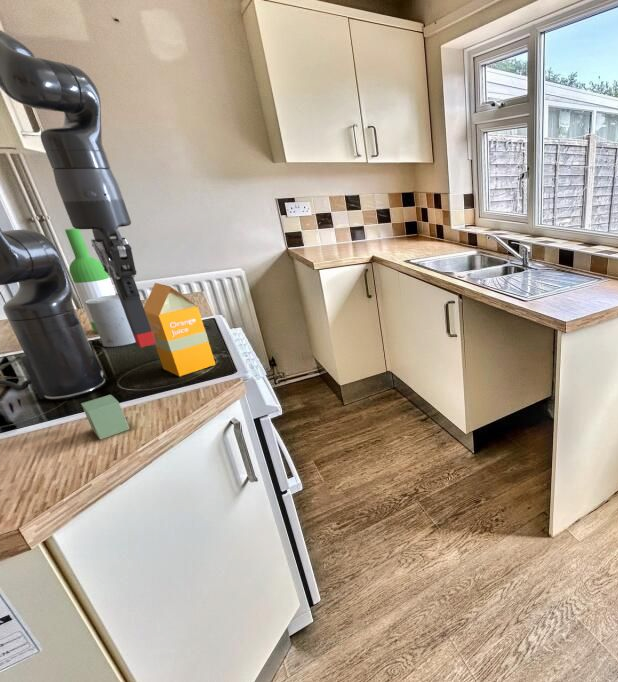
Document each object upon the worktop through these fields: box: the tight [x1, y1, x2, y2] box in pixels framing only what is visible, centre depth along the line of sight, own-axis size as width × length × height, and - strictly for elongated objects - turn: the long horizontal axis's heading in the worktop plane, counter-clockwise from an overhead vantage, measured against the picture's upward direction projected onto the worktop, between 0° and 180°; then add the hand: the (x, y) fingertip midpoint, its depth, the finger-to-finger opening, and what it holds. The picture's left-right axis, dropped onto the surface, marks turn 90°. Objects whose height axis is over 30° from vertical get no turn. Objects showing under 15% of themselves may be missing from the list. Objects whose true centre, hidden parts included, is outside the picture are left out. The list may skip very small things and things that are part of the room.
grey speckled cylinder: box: [85, 294, 136, 348], centre depth 117 cm, size 10×10×12 cm
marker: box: [110, 272, 156, 348], centre depth 78 cm, size 14×2×2 cm
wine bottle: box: [64, 228, 117, 333], centre depth 124 cm, size 8×8×30 cm
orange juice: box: [143, 282, 216, 377], centre depth 97 cm, size 8×9×20 cm
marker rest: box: [80, 394, 131, 440], centre depth 74 cm, size 4×5×6 cm
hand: (129, 297), depth 77 cm, fingers closed on marker, 2 cm apart
